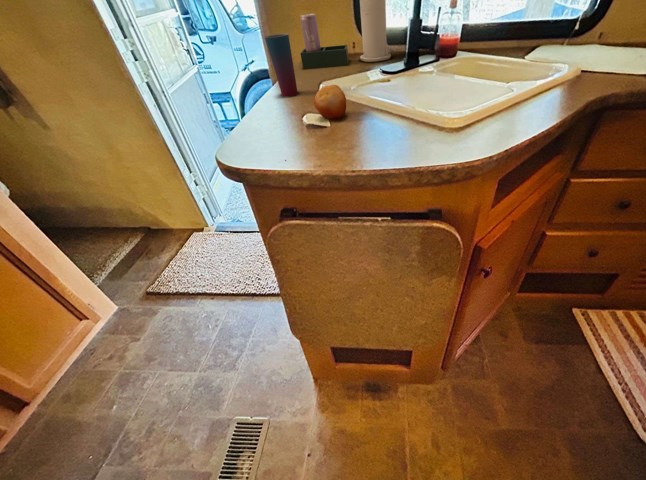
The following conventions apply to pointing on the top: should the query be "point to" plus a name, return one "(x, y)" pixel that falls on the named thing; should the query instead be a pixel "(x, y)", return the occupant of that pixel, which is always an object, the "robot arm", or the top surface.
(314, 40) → the beverage can
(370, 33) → the robot arm
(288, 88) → the cup
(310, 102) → the top surface
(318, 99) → the fruit
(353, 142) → the top surface
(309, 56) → the rack
